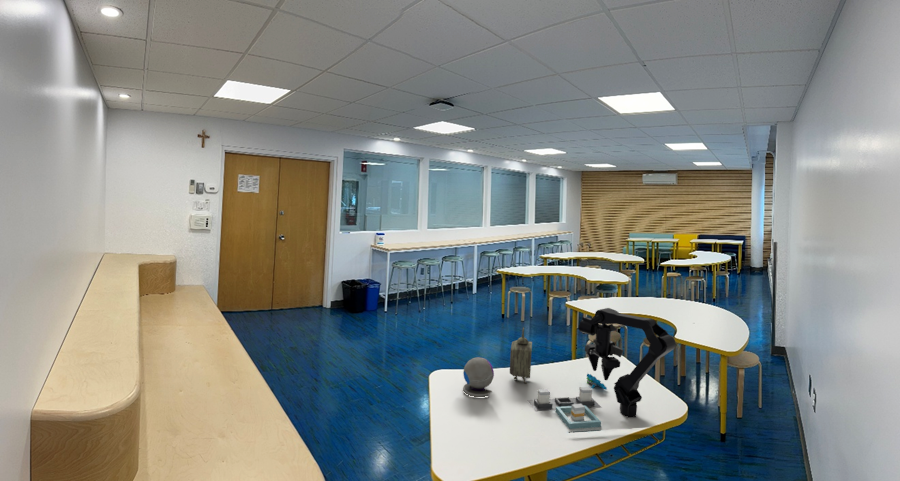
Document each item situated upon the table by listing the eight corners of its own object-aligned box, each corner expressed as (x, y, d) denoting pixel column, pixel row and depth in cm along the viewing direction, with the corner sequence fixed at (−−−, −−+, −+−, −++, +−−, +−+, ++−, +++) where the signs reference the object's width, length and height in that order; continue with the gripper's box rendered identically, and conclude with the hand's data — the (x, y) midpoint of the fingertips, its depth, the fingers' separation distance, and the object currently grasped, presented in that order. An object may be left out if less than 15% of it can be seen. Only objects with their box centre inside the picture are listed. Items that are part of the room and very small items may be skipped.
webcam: (497, 396, 186) (499, 362, 185) (470, 400, 182) (471, 366, 180) (484, 383, 198) (485, 351, 197) (458, 387, 194) (459, 354, 192)
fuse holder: (601, 410, 177) (602, 403, 176) (535, 414, 172) (535, 407, 172) (590, 400, 186) (591, 393, 185) (527, 403, 181) (527, 396, 181)
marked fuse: (583, 422, 166) (585, 407, 165) (574, 423, 165) (575, 408, 164) (580, 418, 169) (581, 403, 168) (570, 419, 168) (571, 404, 167)
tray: (600, 430, 162) (601, 421, 162) (568, 432, 160) (569, 423, 160) (584, 413, 174) (585, 405, 174) (555, 415, 172) (555, 406, 172)
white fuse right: (591, 403, 179) (592, 389, 178) (581, 404, 178) (582, 390, 178) (588, 400, 182) (589, 386, 181) (578, 401, 181) (579, 387, 180)
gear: (612, 390, 191) (597, 376, 189) (604, 401, 190) (589, 386, 188) (596, 383, 202) (583, 369, 200) (588, 393, 201) (575, 379, 199)
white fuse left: (549, 406, 176) (550, 391, 175) (539, 406, 175) (540, 392, 175) (546, 402, 179) (547, 388, 178) (537, 403, 178) (537, 389, 177)
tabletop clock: (529, 388, 195) (532, 333, 192) (508, 386, 196) (511, 331, 194) (530, 375, 209) (533, 324, 206) (511, 373, 211) (513, 322, 208)
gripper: (634, 346, 172) (630, 384, 174) (609, 331, 191) (606, 365, 192) (607, 347, 171) (604, 385, 172) (585, 331, 189) (582, 366, 191)
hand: (600, 375), depth 182 cm, fingers open, 9 cm apart
